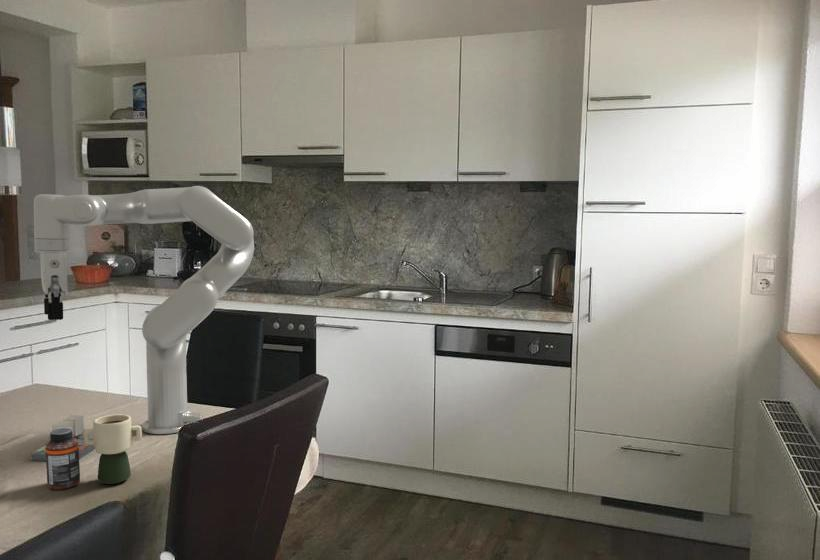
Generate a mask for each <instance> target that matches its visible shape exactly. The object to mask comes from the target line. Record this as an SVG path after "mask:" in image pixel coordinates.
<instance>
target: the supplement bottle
mask: <svg viewBox="0 0 820 560" xmlns="http://www.w3.org/2000/svg"><path fill="white" fill-rule="evenodd" d="M49 439H50V440H49V441H48V442H47V443H46V445H45V446H46V447H45V449H46V461H45V464H46V466H45V468H46V482H47V487H48V488H49V489H51V490H54V491H58V490H59V491H60V490H67V489H70V488H74V487H75V486H78V485H79V483H80V481H81V469H80V459H79V447H78V441H77V440H76V439H75V438H73V432H72V429H71V428H59V429H55V430H53V431H52V430H51V431H50V433H49Z"/></svg>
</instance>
